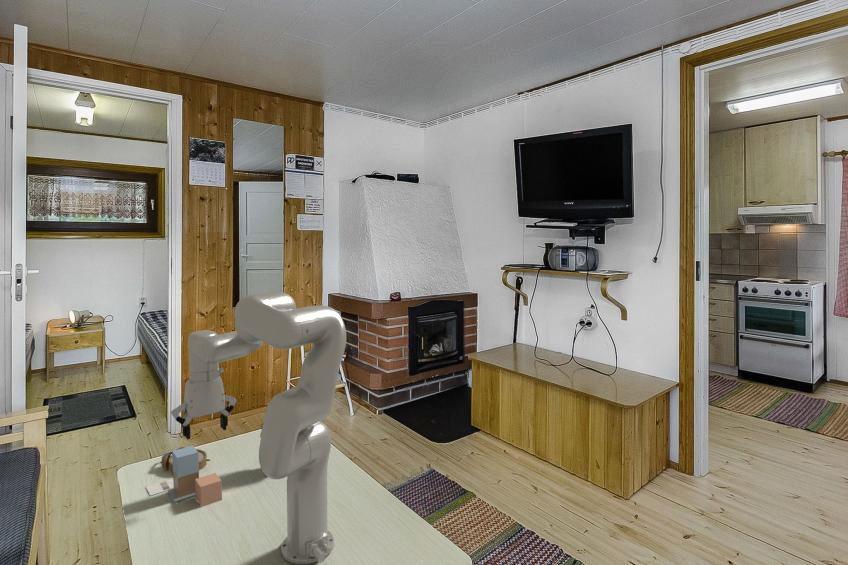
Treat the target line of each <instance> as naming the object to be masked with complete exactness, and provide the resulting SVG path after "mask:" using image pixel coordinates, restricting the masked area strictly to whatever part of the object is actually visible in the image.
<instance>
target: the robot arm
mask: <svg viewBox="0 0 848 565" xmlns="http://www.w3.org/2000/svg"><path fill="white" fill-rule="evenodd" d="M233 316H234V321H235V322H234V328H235V330H234V331H229V332H225V333H219V334H218V333H217V332H216V331H214V330H210V329H209V330H206V329H205V330H203V329H201V330H196V331H193V332H191V333H189V335H188V340H187V341H188V345H187V346H188V371H189V372H188V373H189V374H188V375H189V376H188V377H189V379H188V380H186V381H185V385H184V386H185V387H184V396H183V403H181V404H180V405H178V406H177V407H175V408H174V409H172V410H171V411H170V414H171V416H172V417H173V418H174V420H175V421H176V422H177V423H179V424H180V425H182V428H181V429H182V437H185V438H186V439H187V440H191V425H190V422H191V421H192V420H193V419H194V418H199V417H204V416H208V415H212V414H217V413H221V414H220V416H219V418H220V419H219V421H220V424H219V428H221V430H222V431H226V430H227V426H229V416H230V413H231V412H232V411H233V410H234V408H235V406H236V404H237V401H238V399H237V398H236V397H234V396H231V395H227V394H225V388H224V383H223V379H222V377H221V376H220V375H221V374H222V373H224V372H225V369H224V367H220V365H219V364H220V363H223V362H227V361H231V360H234V359H239V358H244V357H247V356H248V355H250V354H251V353H253V352H255V351H256V350H258V349H259V348H261V347H262V346H263V345H264V344H267V345H269V346H270V347H273V348H275V349H278V350H291V349H295V348H299V347H302V346H307V345H310V344H311V345H312V347H311V348H310V350H309V351H308V352H307V354H306V356H305V358H304V359H303V363H302V365H301V369H300V375H299V378H298V382H297V385H295V386H293V387H292V388H289V389H287V390H284V391H282V392H280V393H278V394H276V395H274V396H273V397H272V398H271V400H270V401H269V402H268V403H267V406H266V408H265V411H264V417H263V422H262V423H263V428H261V431H262V434H261V433H260V434H261V438H260V441H259V448H258V461H259V466H260V469H261V471H262V473H263V474H264V475H265V476H266V477H267V478H269V479H271V480H281V479H285V478H286V518H287V519H286V523H287V524H286V526H287V529H286V530H287V535H286V537H285V538H284V539H283V541H282V543H281V545H280V553H281V555H282V557H283V559H285V561H286V562H289V563H291V564H295V565H309V564H314V563H316V562H318V563H320V564H321V563H323V562H324V561H325V559H326V557H328V555H329V554H330V553H331V552H332V550H334V549H333V548H334V547H335V546H334V545H335V538H334V536H333V534H332V533H331V532H330V531H329V530H328V467H329V466H328V465H329V458H330V454H331V453H330V452H331V447H332V438H331V436H332V435H331V432H330V429H329V428H328V426H327V425H326V424H325V423H324V422H323V421H324V420H325V419H326V418H328V417H329V415H330V413H331V411H332V408H333V403H334V398H335V394H336V393H335V392H336V388H337V385H338V384H337V383H338V377H339V371H340V368H341V364H342V360H343V357H344V354H345V350H346V346H347V329H346V325H345V322H344V320H343V318H342V316H341V314H339V312H338V311H337V310H336V309H334V308H332V307H331V306H327V305H323V304H322V305H318V304H317V305H316V304H315V305H308V306H303V307H298V308H297V304H296V301H295V300H294V297H293V296H291V295H290V294H287V293H286V292H282V291H271V292H270V291H269V292H263V293H256V294H248V295H246V296H244V297H242V298H240V299H239V301H238V302H237V303H236V305H235V308H234V313H233ZM226 401H227V402H229V403H228V404H227V406H226ZM182 412H184V416H183V417H182V416H180V414H179V413H182Z"/></svg>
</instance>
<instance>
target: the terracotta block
mask: <svg viewBox="0 0 848 565" xmlns="http://www.w3.org/2000/svg"><path fill="white" fill-rule="evenodd" d="M222 482H223V481H222V479H221V478H220V477H219V476H218V475H217V473H216V472H214V473H211V474H207V475H203V476H199V478H197V479H195V494H196V497H195V500H196V501H197V502H198V504H199V506H200V507H201V508H204V507H206V506H209V505H212V504H214V503H217V502H221V501H222V500H223V487H222Z"/></svg>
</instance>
